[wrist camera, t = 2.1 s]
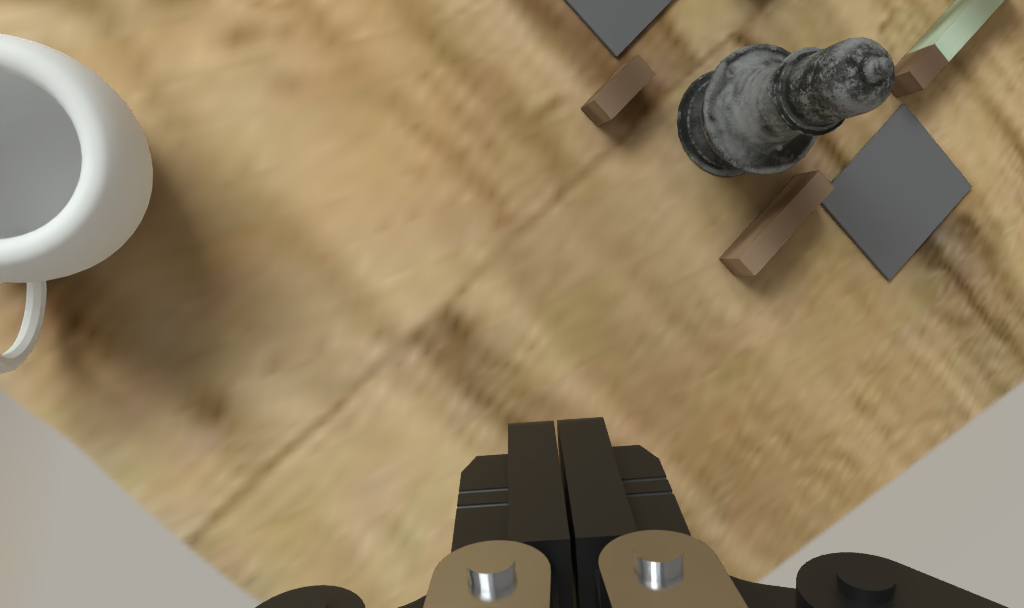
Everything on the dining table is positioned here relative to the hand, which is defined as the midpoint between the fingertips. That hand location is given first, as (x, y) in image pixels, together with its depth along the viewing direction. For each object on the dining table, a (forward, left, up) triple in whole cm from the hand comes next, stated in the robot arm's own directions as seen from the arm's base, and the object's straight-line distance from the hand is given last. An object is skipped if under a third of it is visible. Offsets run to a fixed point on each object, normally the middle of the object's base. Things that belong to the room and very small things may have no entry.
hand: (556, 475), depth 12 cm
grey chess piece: (-15, +11, -25) cm, 31 cm away
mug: (0, -16, -25) cm, 29 cm away
